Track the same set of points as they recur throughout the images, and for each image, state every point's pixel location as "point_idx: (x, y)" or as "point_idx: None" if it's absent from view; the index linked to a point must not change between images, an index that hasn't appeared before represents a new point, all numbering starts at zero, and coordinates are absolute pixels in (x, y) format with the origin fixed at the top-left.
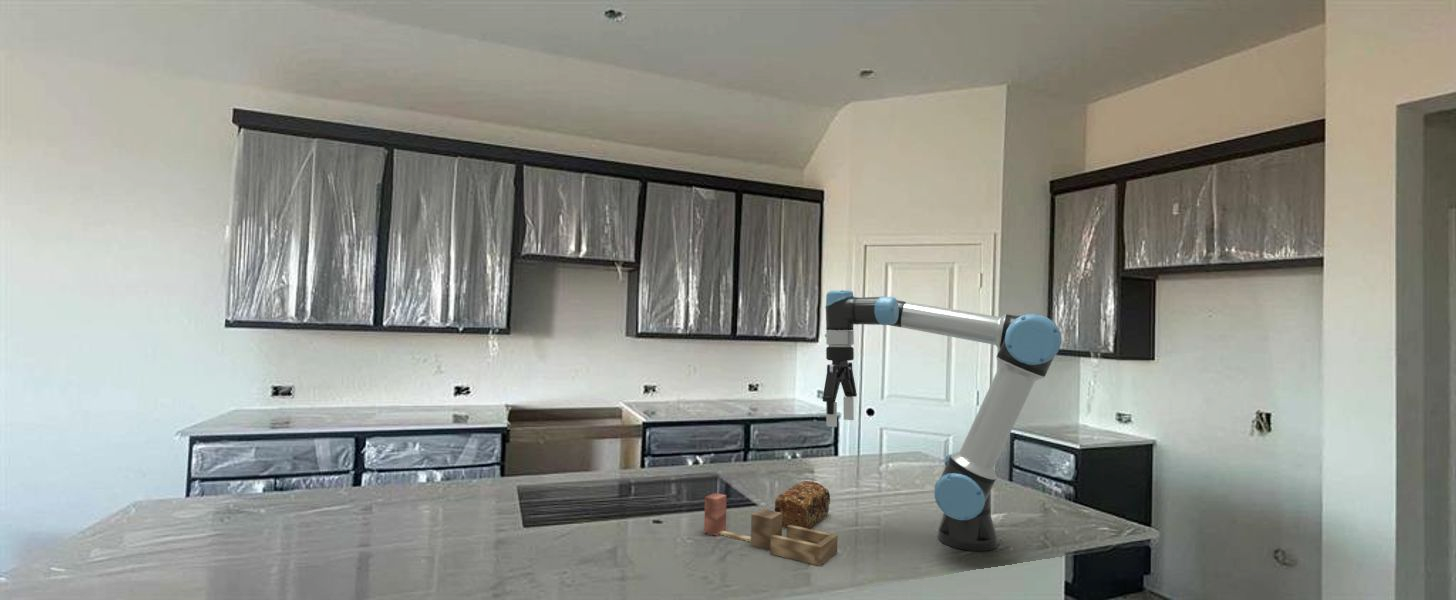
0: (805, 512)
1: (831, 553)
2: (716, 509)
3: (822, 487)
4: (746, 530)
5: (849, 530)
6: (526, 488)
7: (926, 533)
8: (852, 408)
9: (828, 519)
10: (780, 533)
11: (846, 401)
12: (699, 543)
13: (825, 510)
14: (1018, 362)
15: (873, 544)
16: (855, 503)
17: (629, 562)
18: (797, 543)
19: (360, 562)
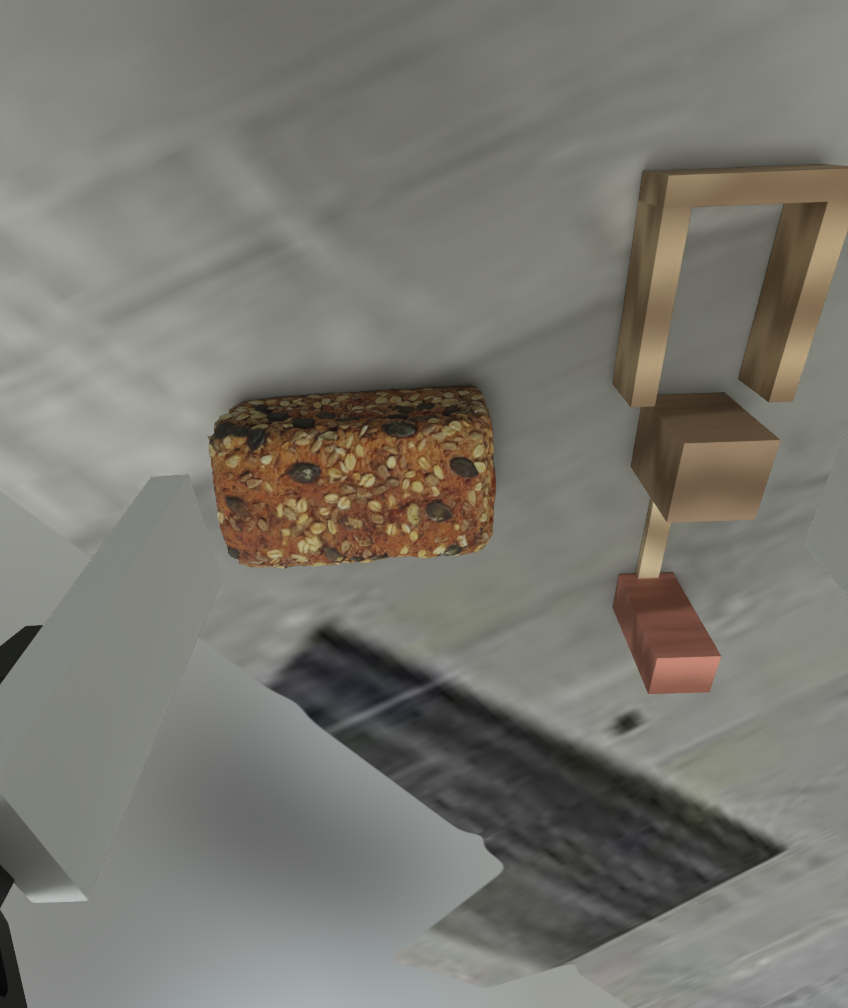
0: (488, 414)
1: (713, 169)
2: (705, 631)
3: (245, 467)
4: (576, 537)
5: (356, 243)
6: (559, 955)
7: None
8: (117, 589)
9: (288, 376)
10: (667, 410)
11: (107, 770)
12: (747, 577)
13: (272, 406)
14: None
15: (465, 58)
16: (3, 374)
17: None
18: (826, 284)
19: None
